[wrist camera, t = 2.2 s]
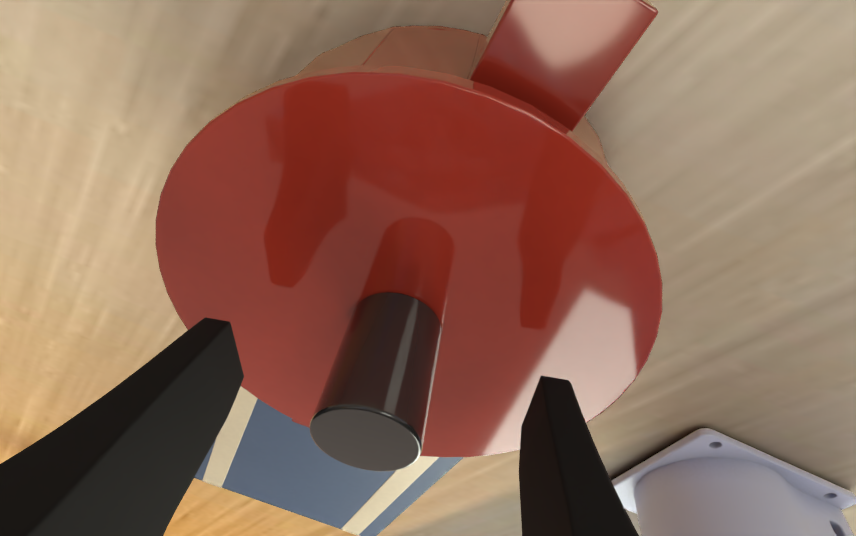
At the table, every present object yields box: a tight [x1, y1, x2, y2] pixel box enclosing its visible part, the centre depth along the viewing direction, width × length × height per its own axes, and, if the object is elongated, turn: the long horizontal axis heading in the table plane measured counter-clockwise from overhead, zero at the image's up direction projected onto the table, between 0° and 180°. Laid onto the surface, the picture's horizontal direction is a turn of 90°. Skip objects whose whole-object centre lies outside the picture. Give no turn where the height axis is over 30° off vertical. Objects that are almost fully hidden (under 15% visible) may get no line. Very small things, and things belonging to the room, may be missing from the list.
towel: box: [194, 386, 463, 536], centre depth 29 cm, size 14×19×1 cm
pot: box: [292, 0, 658, 428], centre depth 15 cm, size 12×17×5 cm
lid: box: [156, 65, 662, 471], centre depth 12 cm, size 13×13×4 cm
